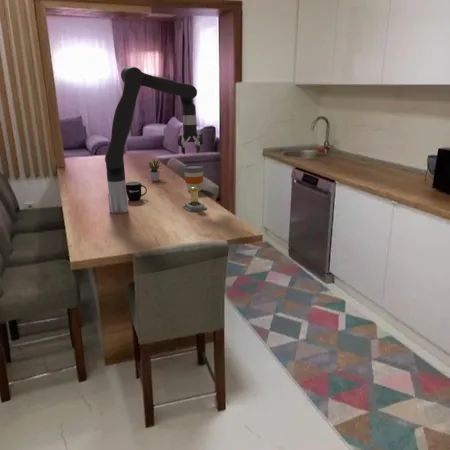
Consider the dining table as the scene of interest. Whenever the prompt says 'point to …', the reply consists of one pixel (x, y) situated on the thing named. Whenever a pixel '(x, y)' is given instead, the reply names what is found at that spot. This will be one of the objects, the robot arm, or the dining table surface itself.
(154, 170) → the house plant
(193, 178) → the reusable coffee cup
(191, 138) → the robot arm
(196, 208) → the square tray with knobs
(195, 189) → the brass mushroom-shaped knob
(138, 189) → the mug
